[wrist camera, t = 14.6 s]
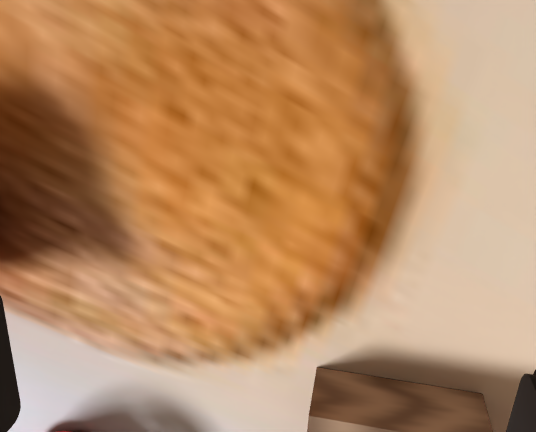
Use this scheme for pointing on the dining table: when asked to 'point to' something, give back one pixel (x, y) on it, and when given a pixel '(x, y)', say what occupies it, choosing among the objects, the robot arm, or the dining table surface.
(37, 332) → the dining table surface
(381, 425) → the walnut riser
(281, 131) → the dining table surface
